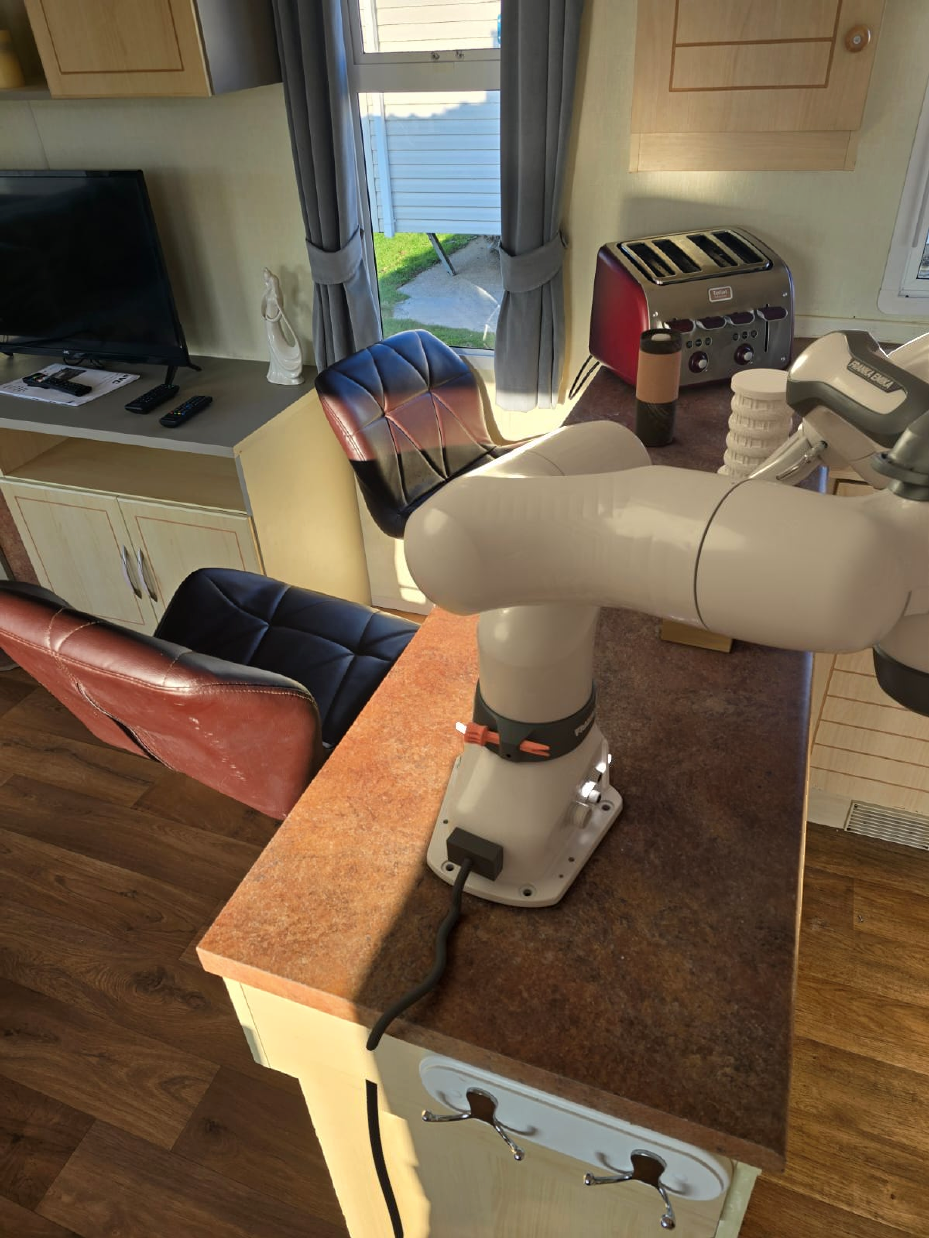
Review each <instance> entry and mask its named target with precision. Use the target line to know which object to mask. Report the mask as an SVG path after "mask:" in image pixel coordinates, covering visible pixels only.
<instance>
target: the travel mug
mask: <svg viewBox="0 0 929 1238" xmlns="http://www.w3.org/2000/svg"><path fill="white" fill-rule="evenodd" d="M683 339H684V335H683V332H682V331H680V330H677V329H674V328H668V327H667V328H666V327H657V328H655V327H654V328H650V329H649V328H648V329H646V330H643V331H642V332H641V333H640V335H639V347H638V348H639V351H638V361H637V362H638V364H637V375H636V389H635V390H636V391H635V415H634V417H635V418H634V434H635V435H636V436H637V437H638V439H639V440H640V441H641V442H642V444H643V445H644V447H664V446H668V445H670V444H671V443H672V442H673V438H674V431H675V421H676V415H677V408H678V398H679V387H680V377H681V366H682V365H681V364H682V353H683Z"/></svg>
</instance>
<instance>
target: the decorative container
mask: <svg viewBox="0 0 929 1238" xmlns="http://www.w3.org/2000/svg"><path fill="white" fill-rule="evenodd" d="M788 372H789V371H785V370H782V369H776V368H775V369H774V368H752V369H745V370H742V371H739V372H737V373H735V374H733V376H732V377H731V383H730V389H731V390H732V392H734V395H733V396H732V398H731V401H730V407H731V410H732V413H731V414H730V416H729V418H728V422H727V423H728V428H729V431H728V433H726V434H727V435H726V437H725V443H726V444H725V445H726V446H727V448H726V450H725V452H724V453H723V463H724V465H722V466H720V467H719V468H718V470H717V472H716V473H718V474H725V475H731V476H738V477H745V478H747V477H748V476H749V475H750V474H751V473H752V472H754V471H755V470H756V469H757V468H758V467H759V466H760V465H761V464H762V463H763V462H764V461H765V460H767V459H768V458H769V457H770V456H771V455H772V454H773V453H774V452H775V451H776V450H777V449H778V448H780V447H781V446H782V445H783V444H784V443H785V442H786V441H787V440H788V439H789V438H790V437H789V434H790V433H791V431H792V429H793V425H794V424H793V423H794V421H793V418H792V417H793V415H794V413H795V411H794V410H793V409H792V408H791V407H789V406H788V405H787V403H786V383H787V376H788Z"/></svg>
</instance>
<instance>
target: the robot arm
mask: <svg viewBox="0 0 929 1238" xmlns="http://www.w3.org/2000/svg"><path fill="white" fill-rule="evenodd" d="M787 372H788V376H787V383H786V403H787V405H788V406H789V407H791V408H792V409H793V410H794V413H796V414H797V415H798V416H800V417H801V418H802V422H801V423H800V424H798V425H799V426H798V429H797V430H796V431H795V432H794V433H793V434H792V435H791V436H790V437H789V439H788V440H787V441H786V442H785V443H784V444H783V445H782V446H781V447H780V448H778V449H777V450H776V451H775V452H774V453H773V454H772V455H771V456H770V457H769V458H768V459H767V460H765V461H764V462H763V463H762V464H761V465H760V466H759V467H758V468H757V469H756V470H755V471H754V472H752V473H751V474H750V475H749V476H748V477H747V478H745V477H738V476H731V475H725V474H718V473H717V472H710V471H705V470H697V469H691V468H685V467H678V466H671V465H662V464H661V465H660V464H657V465H653V463H652V459H651V457H650V455H649V452H648V450H647V449H646V446H645V445H643V444H642V442H641V441H640V440H639V439H638V437H637V436H636V435H635V432H633V431H631V429H629V428H628V427H626V426H625V425H623V424H621V423H618V422H615V421H611V420H607V419H606V420H605V419H604V420H603V419H602V420H601V419H600V420H592V421H587V422H586V421H585V422H580V423H574V424H570V425H565V426H561V427H559V428H556V429H554V430H551V431H549V432H548V433H546V434H543V435H541V436H539V437H537V438H535V439H534V440H531V441H528V442H527V443H525V444H523V445H521V446H519V447H517V448H515V449H513V450H510V451H508V452H506V453H505V454H503V455H501V456H499V457H497V458H495V459H492V460H490V461H489V462H487V463H484V464H482V465H480V466H478V467H476V468H474V469H472V470H469V471H468V472H466V473H464V474H462V475H459V476H458V477H455V478H453V479H451V480H450V481H449V482H448V483H446V484H444V486H442V487H441V488H440V489H439V490H437V491H435V492H434V494H432V495H431V496H430V497H428V498H427V499H426V500H425V501H424V502H423V503H422V504H421V505H419V506H418V507H417V508H416V509H414V511H413V512H412V513H411V514H410V515H409V516H408V518H407V521H406V523H405V526H404V527H405V528H404V532H403V533H404V534H403V555H404V559H405V563H406V568H407V570H408V573H409V575H410V577H411V579H412V581H413V583H414V584H415V586H416V587H417V589H418V590H419V592H421V593H422V594H423V596H425V598H426V599H427V600H429V601H430V602H431V603H432V604H434V605H435V606H436V607H438V608H440V609H441V610H443V611H445V612H448V613H450V614H452V615H455V616H458V617H459V616H460V617H467V616H473V615H477V614H479V617H478V620H477V624H476V645H477V662H478V663H477V665H478V679H477V682H476V685H475V692H474V696H473V703H472V704H473V705H472V709H471V713H472V714H471V715H472V717H471V721H470V722H468V723H467V724H466V726H465V725H463V723H460V722H458V721H457V723H456V730H458V731H460V732H462V733H463V740H464V742H465V743H464V746H463V747H464V748H463V751H462V753H461V754H459V755H458V756H457V757H456V759H455V762H454V764H453V768H452V772H451V774H450V778H449V780H448V784H447V788H446V790H445V794H444V796H443V800H442V804H441V807H440V810H439V813H438V816H437V819H436V822H435V826H434V829H433V832H432V836H431V839H430V843H429V845H428V849H427V853H426V863H427V865H428V867H429V868H430V869H431V870H432V871H433V873H434V874H436V875H437V877H439V878H440V879H441V880H443V881H444V882H446V883H447V884H449V885H451V886H452V890H451V903H450V908H449V911H448V913H447V915H446V917H445V918H444V920H443V921H442V923H441V924H440V926H439V928H438V930H437V933H436V935H435V944H434V947H435V962H434V966H433V967H432V969H431V971H430V972H429V974H427V976H426V977H425V979H423V981H422V982H421V983H420V984H418V985H417V986H416V987H415V988H413V989H412V990H410V991H409V992H408V993H406V994H404V995H403V996H402V997H400V998H399V999H398V1000H396V1001H395V1002H394V1003H392V1004H391V1005H390V1006H389V1007H388V1008H387V1009H386V1010H385V1011H384V1012H383V1013H382V1014H381V1016H380V1017H378V1019H377V1021H376V1023H375V1024H374V1026H373V1027H372V1029H371V1032H370V1033H369V1035H368V1038H367V1041H366V1043H365V1044H366V1045H365V1048H366V1051H369V1052H372V1051H374V1050H376V1049H377V1047H379V1043H380V1041H381V1039H382V1037H383V1035H384V1034H385V1032H386V1031H387V1029H388V1027H389V1026H390V1025H391V1023H392V1022H393V1021H394V1020H395V1019H396V1018H397V1017H398V1016H400V1015H401V1014H402V1013H403V1012H404V1011H406V1010H407V1009H409V1008H410V1007H411V1006H412V1005H414V1004H416V1003H417V1002H418V1001H420V1000H421V999H422V998H423V997H425V996H426V995H427V994H428V993H429V992H430V991H432V989H433V988H434V987H435V986H436V985H437V983H438V982H439V981H440V979H441V977H442V975H443V974H444V972H445V969H446V965H447V939H448V936H449V933H450V931H451V930H452V928H453V927H454V925H455V924H456V923H457V921H458V918H459V916H460V913H461V911H462V907H463V906H462V905H463V892H465V893H468V894H470V895H473V896H474V897H475V896H476V897H478V898H481V899H484V900H487V901H490V902H494V903H497V904H502V905H507V906H511V907H512V906H513V907H519V908H543V907H548V906H553V905H556V904H557V903H559V902H560V901H561V900H562V898H563V897H564V895H565V894H566V892H567V891H568V889H569V888H570V886H571V885H572V884H573V882H574V881H575V879H576V878H577V877H578V875H579V874H580V873H581V870H582V869H583V867H584V866H585V865H586V863H587V862H588V861H589V859H590V858H591V856H592V855H593V853H594V852H595V850H596V849H597V847H598V846H599V844H600V843H601V841H602V840H603V838H604V837H605V835H606V834H607V832H608V831H609V829H610V828H611V827H612V825H613V824H614V822H615V821H616V819H617V818H618V816H620V814H621V812H622V811H623V808H624V807H623V798H622V796H621V794H620V793H619V792H618V791H617V790H616V788H614V787H613V786H612V785H611V784H610V762H611V760H612V755H611V754H609V753H610V749H609V746H610V745H609V741H607V738H606V736H605V735H604V734H603V733H602V731H601V729H600V728H599V726H598V724H597V722H596V715H597V714H596V712H597V708H598V694H597V686H596V681H595V678H594V677H593V673H594V657H595V644H596V634H597V627H598V621H599V617H600V613H601V609H602V608H611V609H612V608H613V609H621V610H628V611H632V612H637V613H640V614H641V613H642V614H645V615H649V616H653V617H657V618H659V619H662V620H663V619H667V620H671V621H674V622H678V623H681V624H685V625H688V626H692V627H695V628H699V629H702V630H706V631H709V632H713V633H716V634H720V635H723V636H727V637H731V638H733V640H739V641H743V642H747V643H752V644H757V645H760V646H766V647H771V648H777V649H782V650H789V651H797V652H805V653H815V654H825V655H851V654H857V653H860V652H863V651H865V650H868V649H870V648H872V657H873V658H872V660H873V667H874V668H873V669H874V673H875V677H876V681H877V683H878V685H879V687H880V689H881V690H882V691H883V692H884V693H885V694H886V695H887V696H888V697H889V698H891V699H892V700H893V701H895V702H896V703H897V704H899V705H900V706H902V707H903V708H905V709H907V710H909V711H911V712H912V713H915V714H917V715H920V716H923V717H925V718H929V332H926V333H925V334H923V335H921V336H918V337H917V338H915V339H913V340H911V341H909V342H907V343H905V344H903V345H901V346H899V347H898V348H896V349H894V350H893V351H891V352H890V353H888V354H886V353H885V351H884V350H883V349H882V348H881V345H880V343H878V341H877V340H876V339H875V338H874V337H873V335H872V334H871V333H870V332H869V330H865V329H856V328H855V329H853V328H852V329H837V330H833V331H830V332H828V333H825V334H824V335H822V336H820V337H819V338H817V339H815V340H814V341H813V342H811V344H809V345H808V346H807V347H805V349H803V350H802V352H801V353H800V354H799V355H798V356H797V357H796V358H795V360H794V361H793V362H792V364H791V366H790V367H789V369H788V371H787ZM818 466H820V467H823V468H828V467H832V468H834V469H836V470H846V469H848V468H849V467H851V469H852V470H853V471H854V472H855V473H856V474H857V475H858V476H859V477H860V478H861V479H862V480H863V481H864V482H865V483H867V484H868V485H870V486H871V487H872V488H873V489H874V490H877V491H875V492H873V493H869V494H864V495H856V496H843V495H837V494H829V493H823V492H819V491H815V490H810V489H806V488H803V487H802V488H801V487H798V486H795V485H797V484H798V483H800V482H802V481H803V480H804V479H805V478H806V477H808V476H809V475H810V474H811V473H812V472H813V471H814V470H815V469H816V468H817V467H818ZM450 870H451V871H450ZM526 894H529V895H528V896H526ZM364 1081H365V1093H366V1095H365V1096H366V1114H367V1128H368V1136H369V1137H368V1138H369V1144H370V1149H371V1156H372V1160H373V1164H374V1168H375V1172H376V1176H377V1179H378V1182H379V1186H380V1189H381V1192H382V1195H383V1198H384V1202H385V1205H386V1208H387V1211H388V1214H389V1218H390V1223H391V1227H392V1231H393V1236H394V1238H405V1232H404V1228H403V1221H402V1217H401V1213H400V1210H399V1206H398V1203H397V1200H396V1197H395V1193H394V1189H393V1186H392V1183H391V1180H390V1176H389V1172H388V1168H387V1164H386V1160H385V1155H384V1151H383V1150H384V1149H383V1143H382V1138H381V1130H380V1129H381V1128H380V1116H379V1099H378V1098H379V1096H378V1094H379V1093H378V1083H377V1082H376V1083H375V1082H374V1081H372V1080H369V1079H367V1078H365V1080H364Z"/></svg>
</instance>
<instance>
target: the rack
mask: <svg viewBox="0 0 929 1238" xmlns="http://www.w3.org/2000/svg"><path fill="white" fill-rule="evenodd" d="M660 640H662V641H667V642H671V643H677V644H684V645H688V646H692V647H693V646H694V647H698V648H703V649H709V650H713V651H718V652H722V653H728V654H729V653H730V652H731V648H732V645H733V641H734V638H731V637H727V636H723V635H720V634H716V633H713V632H709V631H706V630H702V629H699V628H695V627H692V626H688V625H685V624H681V623H678V622H674V621H671V620H667V619H663V618H662V625H661V633H660Z"/></svg>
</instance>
